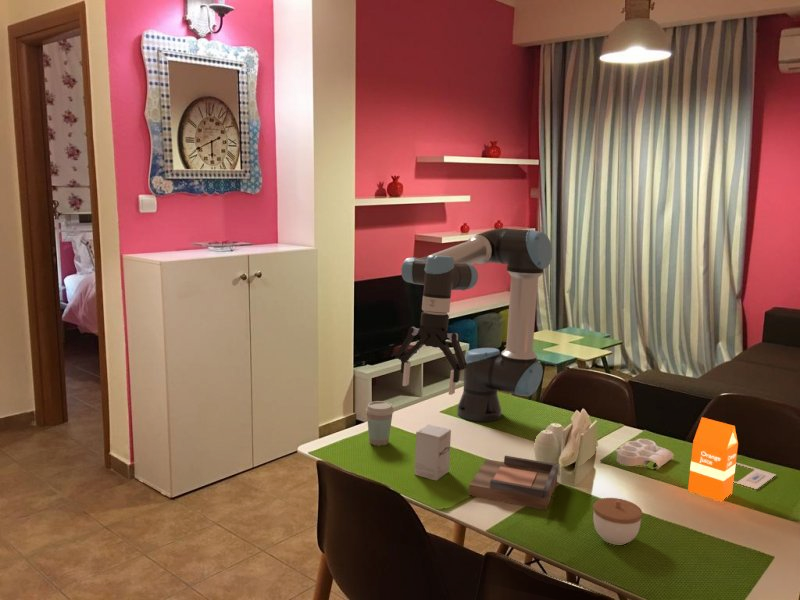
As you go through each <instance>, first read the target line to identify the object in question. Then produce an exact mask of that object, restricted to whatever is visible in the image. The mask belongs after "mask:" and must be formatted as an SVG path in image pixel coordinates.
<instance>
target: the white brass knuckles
mask: <svg viewBox="0 0 800 600" xmlns="http://www.w3.org/2000/svg"><path fill="white" fill-rule="evenodd" d="M614 452H616V453H617V455H616V462H617V461H618V462H619V463H620V464H619V463H618V462H617V463H618V464H619V465H621V464H624V465H628V466H635V465H644V466H646V465H647V464H648V463H649V462H650V461H652V462H654V463H656V464H655V465H656V466H657V465H658V468H657V469H656V470H659V469H660V468H661V467H662V466H663V465H665V464H667V463H668V462H669V461H670V460H672V459H674V453H673V452H672V451H671V450H670V449H667V448H665V447H661V446H658V445H657V443H656V442H655V441H653V440H652V439H648V438H637V439H636V440H630V441H629V440H628V441H625V443H624V444H621V445H620V446H619V449H618V448H617V449H615V450H614Z"/></svg>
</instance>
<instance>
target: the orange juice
mask: <svg viewBox="0 0 800 600" xmlns="http://www.w3.org/2000/svg"><path fill="white" fill-rule="evenodd" d="M699 421H700V422H699V424H698V427H697V429H696V432H695V435H694V439H693V440H692V441H693V442H692V450H691V460H690V468H689V479H688V487H687V489H688V490H687V492H688V491H691V492H694V493H697V494H700V495H703V496H706V497H709V498H712V499H715V500H718V501H720V502H719V503H722V502H723V501H724V499H725V498H726V497H727V498H728V496H729V495H730V494H731V495H732V494H733V487H734V483H733V481H735V480H734V478H735V473H736V466H737V465H736V462H737V455H738V448H739V442H738V437H737V433H736V426H735V425H732V424H728V423H726V422H721V421H717V420H714V419H709V418H707V417H701V418H700V420H699ZM691 492H690V493H691ZM694 493H693V494H694ZM697 494H696V495H697ZM700 495H699V496H700ZM731 495H730V496H731ZM703 496H702V497H703ZM730 496H729V497H730ZM706 497H705V498H706ZM709 498H708V499H709ZM727 498H726V499H727ZM712 499H711V500H712ZM726 499H725V500H726ZM715 500H714V501H715ZM722 500H723V501H722ZM718 501H717V502H718ZM721 501H722V502H721Z"/></svg>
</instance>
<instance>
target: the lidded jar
mask: <svg viewBox="0 0 800 600" xmlns="http://www.w3.org/2000/svg"><path fill="white" fill-rule="evenodd" d="M592 513H593V516H592V517H593V519H592V520H593V524H594V525H593V526H594V528H595V530H596V533H597V534H598V535H599V536H600V538H601V537H602V538H603V539H604V540H605V541H607V542H609V543H613V544H618V545H622V544H626V543H628V542H629V543H630V542H632V541H633V540H634V539H635V538H636V536H637V535H638V533H639V531H640V528H641V522H642V517H643V511H642V508H641V507H640V506H638V505H637V504H635V503H634V502H632V501H630V500H627V499H623V498H617V497H603V498H599V499H597V500H596V501H595V502H594V503H593V511H592ZM602 538H601V539H602ZM629 543H628V544H629Z"/></svg>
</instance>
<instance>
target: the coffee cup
mask: <svg viewBox="0 0 800 600" xmlns="http://www.w3.org/2000/svg"><path fill="white" fill-rule="evenodd" d="M365 413H366V418H367V427H368V431H367V432H368V441H369V444H370V443H371V444H370V445H372V444H373V446H376V445H377V446H376V447H381V445H383V446H386V445H388V444H389V439H390V433H391V427H392V420H393V414H394V407H393V404H392V403H391V402H388V401H381V400H376V401H370V402H369V403H367V405H366V408H365ZM387 443H388V444H387Z"/></svg>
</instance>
